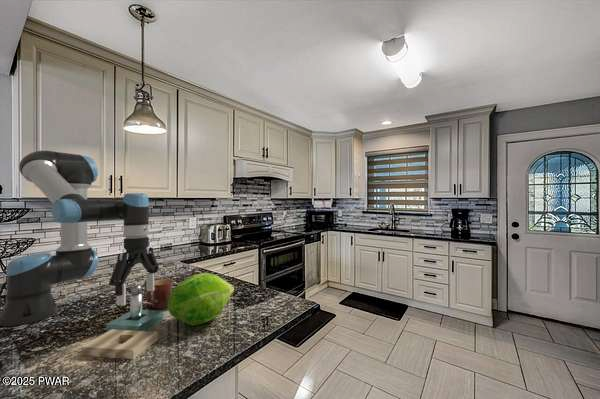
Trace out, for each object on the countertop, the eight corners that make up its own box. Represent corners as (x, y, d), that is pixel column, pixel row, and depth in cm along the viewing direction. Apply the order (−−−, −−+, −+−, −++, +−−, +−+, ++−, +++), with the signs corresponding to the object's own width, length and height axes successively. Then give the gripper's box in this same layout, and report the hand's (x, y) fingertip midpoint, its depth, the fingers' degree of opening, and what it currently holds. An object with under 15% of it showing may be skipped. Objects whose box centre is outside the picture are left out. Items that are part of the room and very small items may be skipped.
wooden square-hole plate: (81, 355, 72) (81, 346, 72) (111, 337, 82) (111, 329, 82) (133, 359, 70) (133, 350, 70) (157, 339, 80) (157, 331, 80)
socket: (106, 333, 84) (106, 324, 84) (133, 317, 96) (133, 309, 96) (139, 335, 83) (139, 326, 83) (163, 318, 95) (163, 310, 95)
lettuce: (247, 316, 96) (247, 271, 96) (179, 344, 77) (179, 288, 78) (220, 303, 109) (220, 263, 109) (157, 325, 90) (157, 276, 90)
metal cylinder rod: (127, 327, 88) (127, 287, 88) (135, 323, 92) (135, 284, 92) (137, 328, 88) (137, 287, 88) (144, 323, 91) (144, 284, 91)
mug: (160, 301, 111) (160, 278, 112) (178, 303, 110) (178, 279, 110) (138, 313, 100) (138, 287, 100) (157, 315, 98) (157, 288, 98)
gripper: (116, 242, 77) (117, 312, 77) (168, 232, 102) (168, 286, 102) (94, 242, 78) (94, 311, 78) (151, 233, 103) (151, 285, 102)
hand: (136, 297), depth 90 cm, fingers open, 13 cm apart
